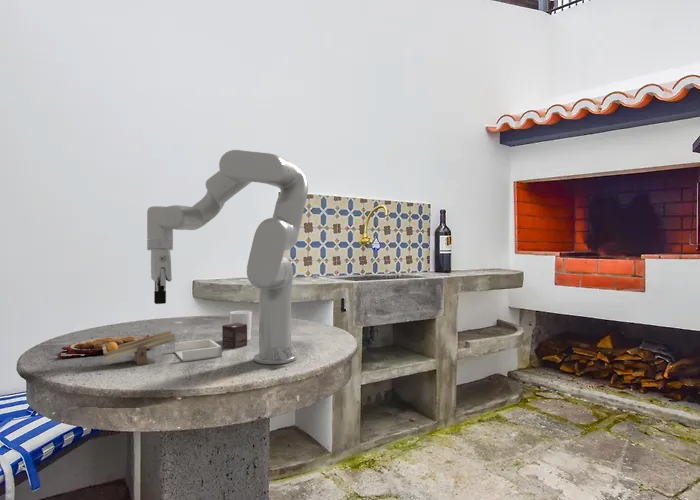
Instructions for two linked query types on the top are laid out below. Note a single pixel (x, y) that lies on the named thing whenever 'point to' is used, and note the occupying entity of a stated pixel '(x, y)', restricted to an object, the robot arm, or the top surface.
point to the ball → (111, 346)
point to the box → (234, 335)
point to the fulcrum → (141, 355)
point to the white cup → (242, 320)
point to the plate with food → (96, 345)
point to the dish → (197, 350)
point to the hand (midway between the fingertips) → (160, 303)
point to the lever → (139, 344)
